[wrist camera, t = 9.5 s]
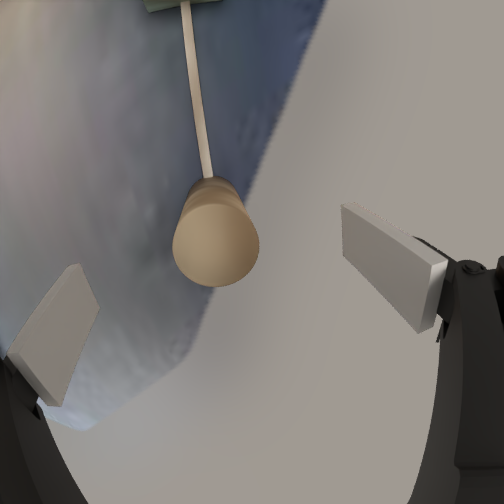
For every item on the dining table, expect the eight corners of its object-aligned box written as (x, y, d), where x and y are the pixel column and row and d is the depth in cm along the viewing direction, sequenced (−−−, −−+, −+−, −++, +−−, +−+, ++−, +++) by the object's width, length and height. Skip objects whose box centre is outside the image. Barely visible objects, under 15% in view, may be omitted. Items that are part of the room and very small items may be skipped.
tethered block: (180, 231, 23) (164, 296, 14) (146, -35, 13) (124, -99, 3) (253, 218, 23) (283, 275, 14) (216, -46, 13) (225, -115, 4)
